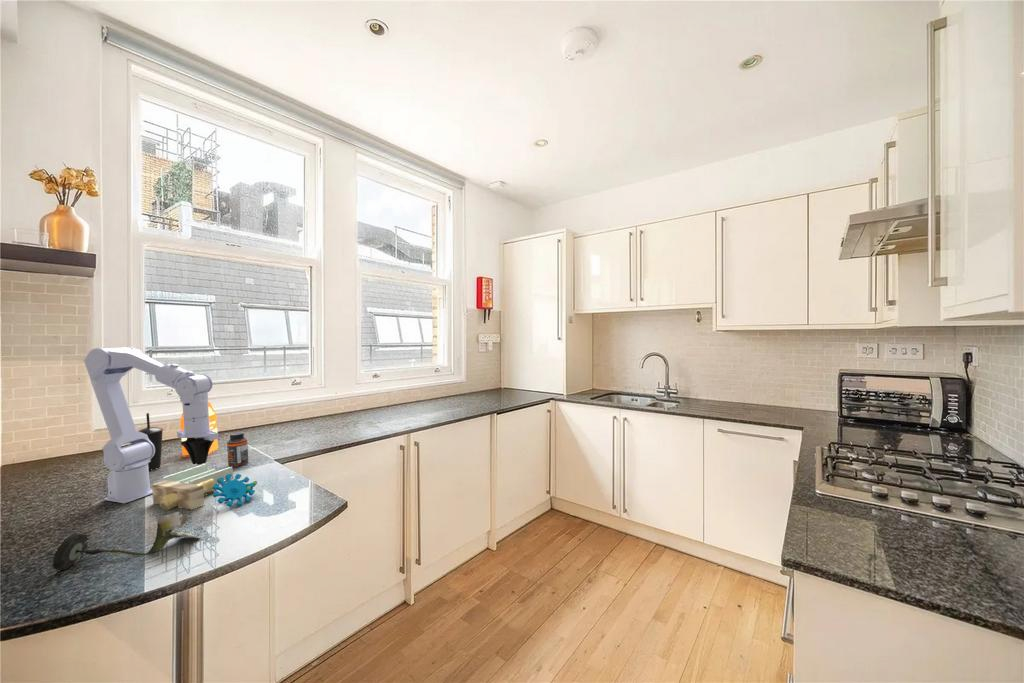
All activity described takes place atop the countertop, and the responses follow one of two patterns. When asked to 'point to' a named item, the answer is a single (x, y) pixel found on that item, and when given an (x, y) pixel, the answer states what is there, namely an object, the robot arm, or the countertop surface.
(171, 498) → the axle
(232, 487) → the gear
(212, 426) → the orange juice
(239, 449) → the supplement bottle
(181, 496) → the beam
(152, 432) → the drinking cup
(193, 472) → the pale green slotted tray
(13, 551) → the countertop surface
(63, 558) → the artificial flower
